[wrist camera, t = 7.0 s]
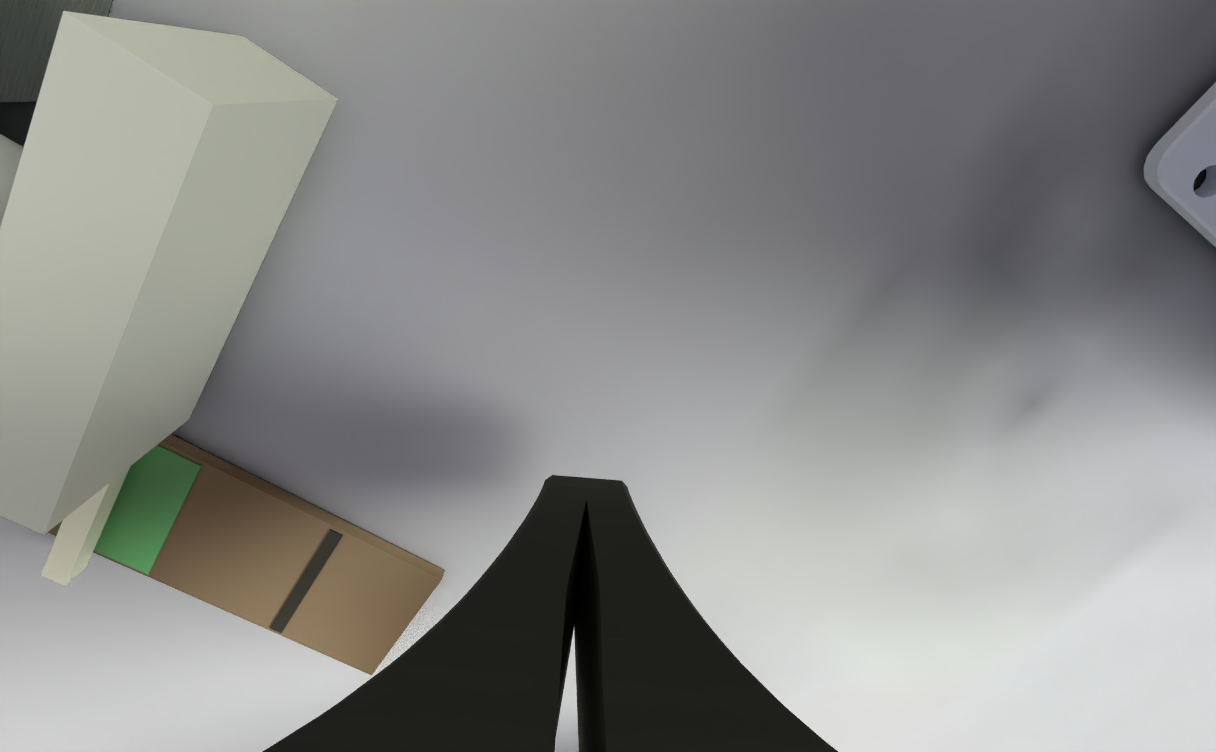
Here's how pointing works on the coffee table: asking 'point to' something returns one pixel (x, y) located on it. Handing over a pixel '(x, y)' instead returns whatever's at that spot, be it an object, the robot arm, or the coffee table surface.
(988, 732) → the coffee table surface
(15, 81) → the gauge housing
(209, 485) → the gauge scale
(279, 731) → the coffee table surface
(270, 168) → the gauge plunger
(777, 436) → the coffee table surface
